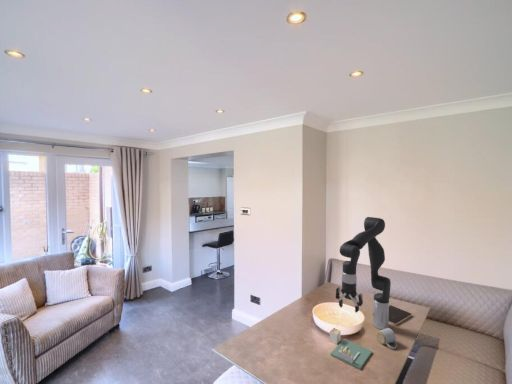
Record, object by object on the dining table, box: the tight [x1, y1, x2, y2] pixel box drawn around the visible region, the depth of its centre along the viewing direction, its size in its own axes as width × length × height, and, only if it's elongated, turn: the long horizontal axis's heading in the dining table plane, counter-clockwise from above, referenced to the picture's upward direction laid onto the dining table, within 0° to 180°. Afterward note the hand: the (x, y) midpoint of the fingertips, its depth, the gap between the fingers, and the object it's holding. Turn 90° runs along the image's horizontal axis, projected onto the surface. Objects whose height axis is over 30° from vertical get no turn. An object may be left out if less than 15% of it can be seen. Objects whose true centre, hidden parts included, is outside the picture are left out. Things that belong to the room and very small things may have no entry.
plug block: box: [329, 327, 342, 345], centre depth 153 cm, size 5×4×6 cm
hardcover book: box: [388, 304, 413, 326], centre depth 183 cm, size 16×23×2 cm
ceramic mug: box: [376, 327, 398, 350], centre depth 150 cm, size 11×8×8 cm
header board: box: [330, 338, 373, 370], centre depth 141 cm, size 18×16×6 cm
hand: (348, 309), depth 142 cm, fingers open, 8 cm apart
